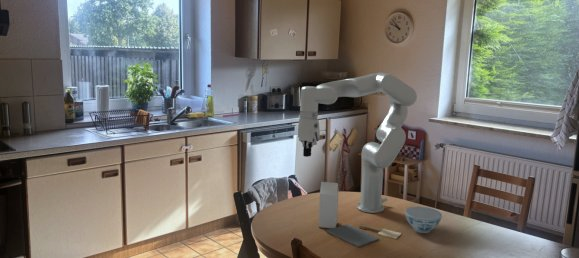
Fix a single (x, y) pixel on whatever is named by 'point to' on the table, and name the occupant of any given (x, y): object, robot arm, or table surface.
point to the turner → (382, 232)
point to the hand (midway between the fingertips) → (307, 156)
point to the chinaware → (423, 218)
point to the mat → (352, 235)
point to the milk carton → (328, 205)
